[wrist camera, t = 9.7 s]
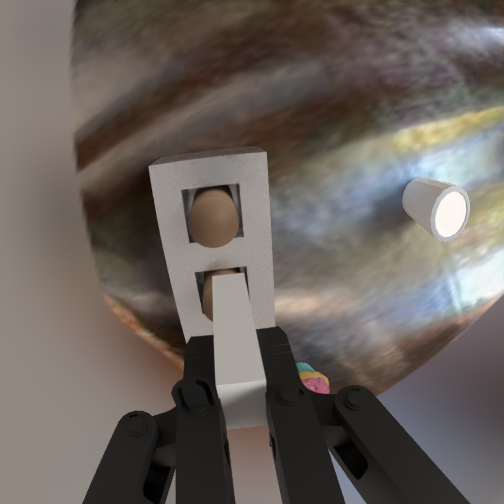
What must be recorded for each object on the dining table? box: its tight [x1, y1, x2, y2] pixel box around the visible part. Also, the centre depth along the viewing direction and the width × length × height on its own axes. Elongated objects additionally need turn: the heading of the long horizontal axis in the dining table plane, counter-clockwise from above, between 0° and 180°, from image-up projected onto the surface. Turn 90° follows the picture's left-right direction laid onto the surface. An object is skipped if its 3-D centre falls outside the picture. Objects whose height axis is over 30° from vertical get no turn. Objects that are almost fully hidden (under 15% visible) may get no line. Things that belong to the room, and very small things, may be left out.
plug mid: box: [203, 267, 241, 322], centre depth 30 cm, size 4×4×7 cm
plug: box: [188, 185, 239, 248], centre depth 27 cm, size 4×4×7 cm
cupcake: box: [296, 362, 330, 394], centre depth 39 cm, size 9×8×12 cm
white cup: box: [402, 177, 470, 242], centre depth 31 cm, size 7×7×7 cm
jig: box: [149, 146, 275, 344], centre depth 32 cm, size 26×10×6 cm, turn 4°
